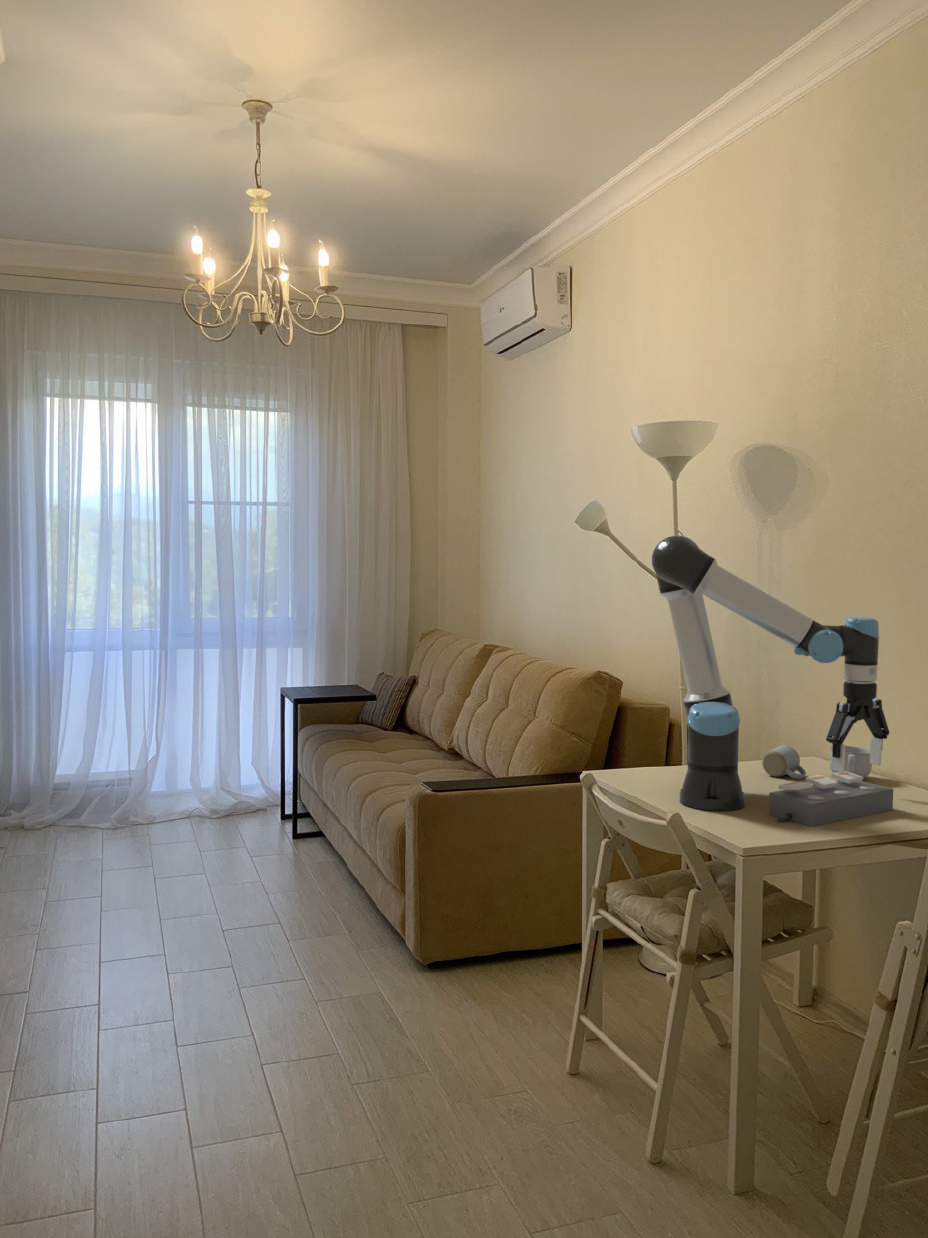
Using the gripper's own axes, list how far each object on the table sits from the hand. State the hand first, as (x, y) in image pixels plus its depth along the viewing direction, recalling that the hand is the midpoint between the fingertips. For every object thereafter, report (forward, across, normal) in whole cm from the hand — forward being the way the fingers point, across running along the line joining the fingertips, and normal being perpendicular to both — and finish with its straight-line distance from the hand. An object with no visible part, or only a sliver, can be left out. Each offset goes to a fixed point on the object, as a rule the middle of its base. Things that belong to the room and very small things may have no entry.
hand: (857, 768), depth 249 cm
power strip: (+7, -18, -6) cm, 20 cm away
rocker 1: (+1, -25, -3) cm, 25 cm away
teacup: (+8, +16, +14) cm, 23 cm away
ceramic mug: (+8, +4, +26) cm, 27 cm away
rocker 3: (+1, -7, -3) cm, 8 cm away
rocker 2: (+1, -16, -3) cm, 16 cm away
